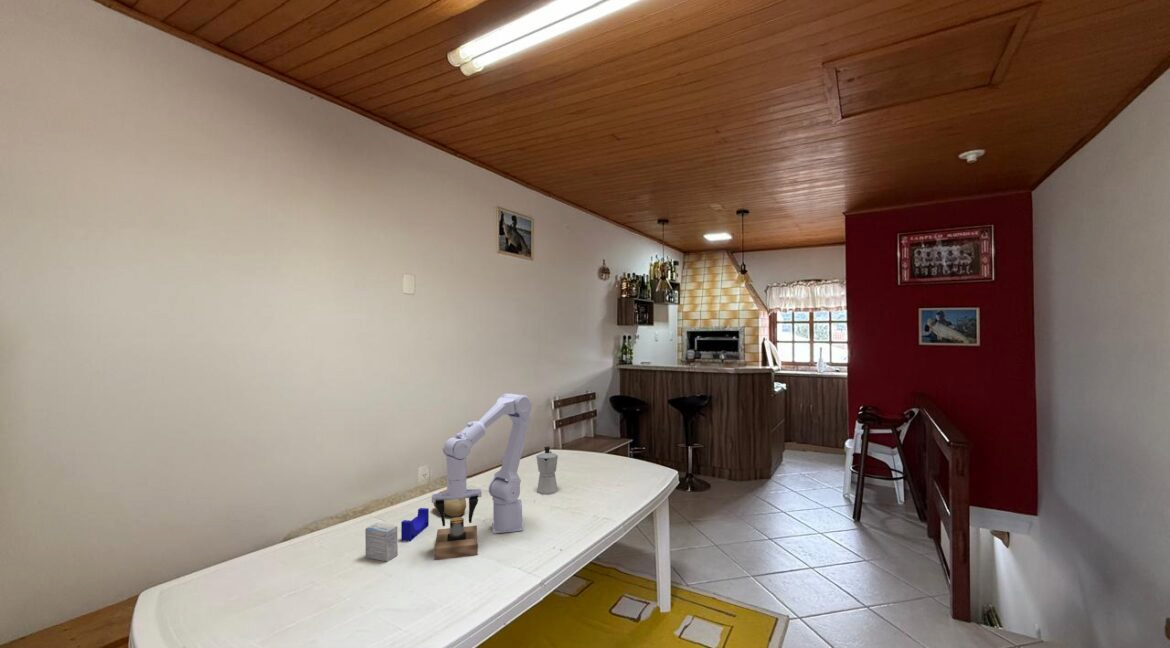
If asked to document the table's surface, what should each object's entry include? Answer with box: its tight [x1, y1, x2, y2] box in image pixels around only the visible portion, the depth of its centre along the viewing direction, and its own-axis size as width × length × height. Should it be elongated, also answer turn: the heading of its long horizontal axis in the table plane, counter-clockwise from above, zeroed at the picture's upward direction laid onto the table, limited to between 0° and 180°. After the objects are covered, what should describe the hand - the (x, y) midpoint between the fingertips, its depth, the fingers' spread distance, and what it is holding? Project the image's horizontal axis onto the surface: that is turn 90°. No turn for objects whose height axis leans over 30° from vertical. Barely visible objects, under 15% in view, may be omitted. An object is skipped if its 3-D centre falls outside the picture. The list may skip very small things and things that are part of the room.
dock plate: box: [433, 525, 479, 561], centre depth 142 cm, size 12×14×3 cm
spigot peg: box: [449, 516, 465, 541], centre depth 142 cm, size 4×4×8 cm
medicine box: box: [364, 522, 399, 562], centre depth 136 cm, size 8×4×9 cm, turn 71°
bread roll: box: [432, 488, 467, 518], centre depth 170 cm, size 10×15×8 cm, turn 49°
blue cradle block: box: [400, 507, 430, 542], centre depth 152 cm, size 12×4×6 cm, turn 172°
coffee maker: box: [536, 445, 559, 495], centre depth 193 cm, size 15×9×18 cm, turn 179°
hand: (457, 523), depth 142 cm, fingers open, 7 cm apart
